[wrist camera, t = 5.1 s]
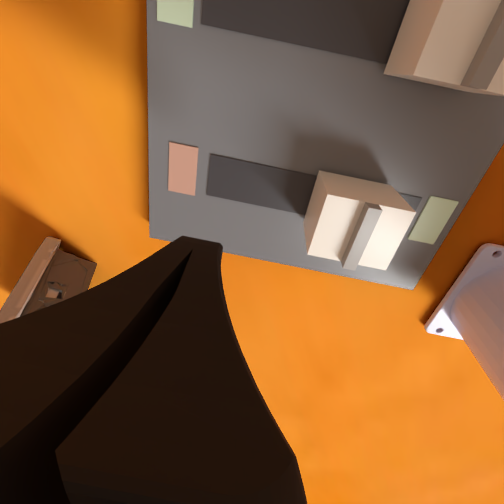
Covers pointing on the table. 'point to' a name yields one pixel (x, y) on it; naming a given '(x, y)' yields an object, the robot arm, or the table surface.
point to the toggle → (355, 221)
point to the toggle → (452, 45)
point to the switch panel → (301, 127)
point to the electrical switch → (47, 280)
